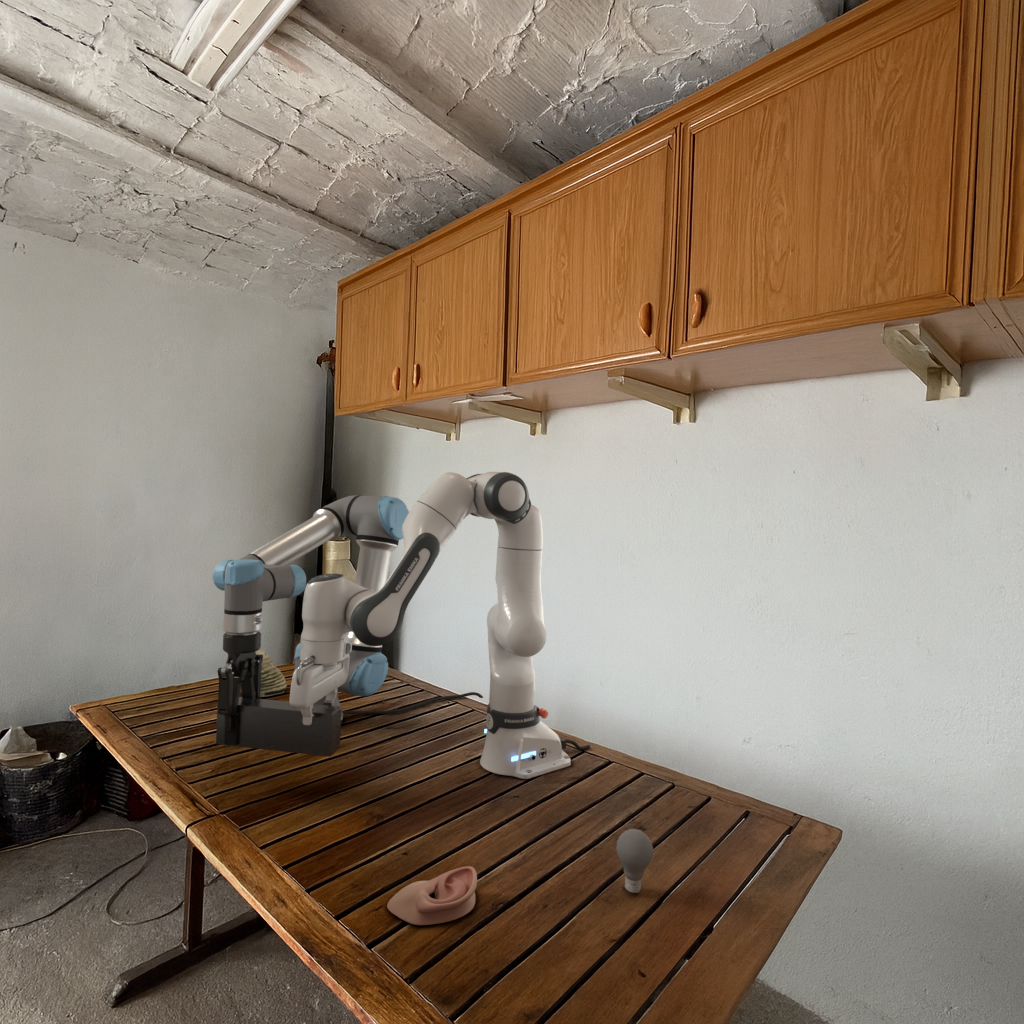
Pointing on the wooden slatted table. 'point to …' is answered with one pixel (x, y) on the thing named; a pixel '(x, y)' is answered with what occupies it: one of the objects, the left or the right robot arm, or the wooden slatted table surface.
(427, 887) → the anatomical model
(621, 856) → the light bulb
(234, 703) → the left robot arm
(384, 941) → the wooden slatted table surface
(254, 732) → the bar
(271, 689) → the fossil
